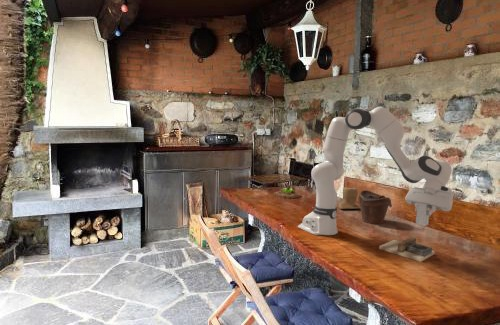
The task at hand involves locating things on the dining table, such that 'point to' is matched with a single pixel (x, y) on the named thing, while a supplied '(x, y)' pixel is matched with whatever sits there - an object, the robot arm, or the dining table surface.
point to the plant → (287, 193)
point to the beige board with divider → (408, 249)
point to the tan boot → (349, 199)
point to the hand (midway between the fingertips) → (422, 213)
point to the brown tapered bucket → (373, 207)
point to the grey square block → (422, 214)
